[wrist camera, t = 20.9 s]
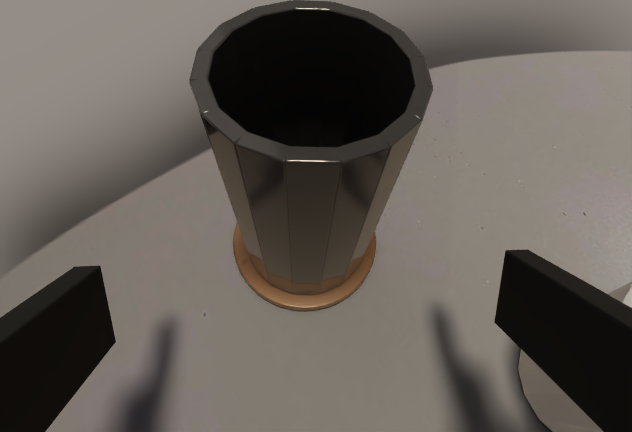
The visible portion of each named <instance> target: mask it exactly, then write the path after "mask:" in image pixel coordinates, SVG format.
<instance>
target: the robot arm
mask: <svg viewBox="0 0 632 432" xmlns="http://www.w3.org/2000/svg"><path fill="white" fill-rule="evenodd" d="M495 323H496V324H497V325H498V326H499V327H500V328H501V329H502V330H503V331H504V332H505V333H506V334H507V335H508V336H509V337H510V338H511V339H512V340H513V341H514V342H515V343H516V344H517V345H518V346H519V347H520V348H521V349H522V350H523V351H524V352H525V353H526V354H527V355H528V356H529V357H530V358H531V359H532V360H533V361H534V362H535V363H536V364H537V365H538V366H539V367H540V368H541V369H542V370H543V371H544V372H545V373H546V374H547V375H548V376H549V377H550V378H551V379H552V380H553V381H554V382H555V383H556V384H557V385H558V386H559V387H560V388H561V389H562V390H563V391H564V392H565V393H566V394H567V395H568V396H569V397H570V398H571V399H572V400H573V402H574V403H575V404H576V405H577V406H578V407H579V408H580V409H581V410H582V411H583V412H584V413H585V414H586V415H587V416H588V417H589V418H590V419H591V420H592V421H593V422H594V423H595V424H596V425H597V426H598V427H599V428H600V429H601V430H602V431H603V432H632V308H631V307H629V306H628V305H626V304H624V303H622V302H620V301H619V300H617V299H615V298H613V297H611V296H610V295H608V294H606V293H604V292H602V291H601V290H599V289H597V288H595V287H593V286H592V285H590V284H588V283H586V282H585V281H583V280H581V279H579V278H577V277H576V276H574V275H572V274H570V273H568V272H567V271H565V270H563V269H561V268H559V267H558V266H556V265H554V264H552V263H551V262H549V261H547V260H545V259H543V258H542V257H540V256H538V255H536V254H534V253H533V252H531V251H529V250H506V252H505V258H504V264H503V271H502V277H501V284H500V290H499V297H498V303H497V310H496V316H495ZM115 342H116V341H115V336H114V331H113V326H112V321H111V316H110V311H109V306H108V301H107V297H106V292H105V287H104V282H103V277H102V272H101V267H100V266H81V267H73V268H72V269H71V270H69V271H68V272H66V273H65V274H63V275H62V276H60V277H59V278H57V279H56V280H55V281H53V282H52V283H50V284H49V285H47V286H46V287H44V288H43V289H41V290H40V291H39V292H37V293H36V294H34V295H33V296H31V297H30V298H28V299H27V300H25V301H24V302H23V303H21V304H20V305H18V306H17V307H15V308H14V309H12V310H11V311H9V312H8V313H7V314H5V315H4V316H2V317H1V318H0V432H45V431H46V430H47V429H48V427H49V426H50V425H51V424H52V422H53V421H54V420H55V418H56V417H57V416H58V415H59V413H60V412H61V411H62V410H63V408H64V407H65V406H66V404H67V403H68V402H69V401H70V399H71V398H72V397H73V396H74V394H75V393H76V392H77V390H78V389H79V388H80V387H81V385H82V384H83V383H84V382H85V380H86V379H87V378H88V376H89V375H90V374H91V373H92V371H93V370H94V369H95V367H96V366H97V365H98V364H99V362H100V361H101V360H102V359H103V357H104V356H105V355H106V353H107V352H108V351H109V350H110V348H111V347H112V346H113V345H114V343H115Z"/></svg>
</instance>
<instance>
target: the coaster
mask: <svg viewBox="0 0 632 432" xmlns="http://www.w3.org/2000/svg"><path fill="white" fill-rule="evenodd" d="M233 248H234V255H235V259H236V263H237V265H238V268H239V270H240V272H241V274H242V276H243V278H244V279H245V281H246V282H247V283H248V285H249V286H250V287H251V288H252V289H253V290H254V291H255V292H256V293H257V294H258V295H259V296H261V297H262V298H264V299H265V300H267V301H269V302H271V303H273V304H275V305H277V306H280V307H283V308H287V309H292V310H300V311H309V310H318V309H323V308H326V307H329V306H332V305H335V304H337V303H339V302H341V301H343V300H344V299H346V298H347V297H349V296H350V295H351V294H352V293H353V292H354V291H356V290H357V289H358V287H359V286H360V285H361V284H362V283H363V281H364V280H365V278H366V276H367V275H368V273H369V271H370V269H371V266H372V264H373V260H374V257H375V250H376V237H375V231H374V233H373V236H372V238H371V240H370V242H369V245H368V247H367V249H366V252H365V254H364V256H363V259H362V261H361V263H360V265H359V266H358V267H357V269H356V270H355V272H354V273H353V274H352V275H351V276H350V277H349V278H348V279H347V280H346V281H345V282H344V283H342V284H341V285H339V286H338V287H336V288H334V289H331V290H329V291H326V292H323V293H318V294H311V295H302V294H294V293H289V292H286V291H283V290H281V289H279V288H277V287H275V286H273V285H271V284H270V283H268V282H267V281H266V280H265V279H264V278H263V277H261V275H260V274H259V273H258V272H257V271H256V269H255V267H254V266H253V265H252V263H251V260H250V258H249V255H248V252H247V249H246V246H245V243H244V240H243V238H242V235H241V232H240V229H239V226H238V223H237V224H236V227H235V232H234V239H233Z"/></svg>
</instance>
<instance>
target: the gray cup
mask: <svg viewBox="0 0 632 432" xmlns="http://www.w3.org/2000/svg"><path fill="white" fill-rule="evenodd" d="M190 86H191V89H192V92H193V95H194V98H195V101H196V104H197V107H198V109H199V112H200V115H201V118H202V121H203V124H204V127H205V130H206V133H207V136H208V138H209V141H210V144H211V147H212V150H213V153H214V156H215V159H216V162H217V165H218V168H219V171H220V173H221V176H222V179H223V182H224V185H225V188H226V191H227V194H228V197H229V200H230V203H231V205H232V208H233V211H234V214H235V217H236V220H237V223H238V226H239V229H240V232H241V235H242V238H243V240H244V243H245V246H246V249H247V252H248V255H249V258H250V260H251V263H252V265H253V266H254V267H255V269H256V271H257V272H258V273H259V274H260V275H261V277H263V278H264V279H265V280H266V281H267V282H268V283H270V284H271V285H273V286H275V287H277V288H279V289H281V290H283V291H286V292H289V293H294V294H302V295H311V294H318V293H323V292H326V291H329V290H331V289H334V288H336V287H338V286H339V285H341V284H342V283H344V282H345V281H346V280H347V279H348V278H349V277H350V276H351V275H352V274H353V273H354V272H355V270H356V269H357V267H358V266H359V265H360V263H361V261H362V259H363V256H364V254H365V252H366V249H367V247H368V245H369V242H370V240H371V238H372V236H373V233H374V231H375V229H376V226H377V224H378V222H379V219H380V217H381V215H382V213H383V210H384V208H385V206H386V203H387V201H388V199H389V196H390V194H391V192H392V189H393V187H394V185H395V183H396V180H397V178H398V176H399V173H400V171H401V169H402V166H403V164H404V162H405V160H406V157H407V155H408V153H409V150H410V148H411V146H412V143H413V141H414V139H415V136H416V134H417V132H418V130H419V127H420V125H421V123H422V120H423V118H424V115H425V112H426V109H427V106H428V103H429V100H430V97H431V94H432V91H433V85H432V81H431V77H430V73H429V69H428V65H427V62H426V58H425V57H424V55H423V53H422V52H421V51H420V50H419V49H418V48H417V46H416V45H415V44H414V43H413V42H412V41H411V40H410V38H409V37H408V36H407V35H406V34H405V33H404V32H403V31H402V30H401V29H399V28H397V27H396V26H394V25H392V24H390V23H389V22H387V21H385V20H383V19H381V18H380V17H378V16H376V15H375V14H373V13H370V12H369V11H365V10H361V9H357V8H354V7H350V6H347V5H343V4H339V3H336V2H331V1H329V2H328V1H304V0H293V1H286V2H280V3H275V4H270V5H265V6H259V7H255V8H252V9H250V10H248V11H246V12H244V13H242V14H240V15H238V16H236V17H234V18H232V19H230V20H228V21H226V22H224V23H222V24H221V25H219V26H218V27H217V29H215V31H214V32H213V33H212V34H211V35H210V36H209V37H208V38H207V39H206V40H205V41H204V42H203V43H202V45H201V46H200V47H199V48H198V50H197V52H196V56H195V60H194V64H193V68H192V72H191V76H190Z"/></svg>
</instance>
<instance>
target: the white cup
mask: <svg viewBox="0 0 632 432" xmlns="http://www.w3.org/2000/svg"><path fill="white" fill-rule="evenodd" d="M608 295H610V296H611V297H613V298H615V299H617V300H619V301H620V302H622V303H624V304H626V305H628V306H629V307H631V308H632V282H631V283H629V284H627V285H625V286H623V287H621V288H619V289H617V290H615V291H613V292H611V293H609V294H608ZM518 371H519V375H520V379H521V383H522V387H523V391H524V395H525V396H526V398H527V400H528V402H529V403H530V405H531V407H532V408H533V410H534V412H535V413H536V415H537V417H538V418H539V420H540V421H541V422H542V423H544V424H545V425H546V426H547V427H548V428H549V429H550V430H551V431H552V432H603V431H602V430H601V429H600V428H599V427H598V426H597V425H596V424H595V423H594V422H593V421H592V420H591V419H590V418H589V417H588V416H587V415H586V414H585V413H584V412H583V411H582V410H581V409H580V408H579V407H578V406H577V405H576V404H575V403H574V402H573V400H572V399H571V398H570V397H569V396H568V395H567V394H566V393H565V392H564V391H563V390H562V389H561V388H560V387H559V386H558V385H557V384H556V383H555V382H554V381H553V380H552V379H551V378H550V377H549V376H548V375H547V374H546V373H545V372H544V371H543V370H542V369H541V368H540V367H539V366H538V365H537V364H536V363H535V362H534V361H533V360H532V359H531V358H530V357H529V356H528V355H527V354H526V353H525V352H524V351H523V350H522V349H521V352H520V359H519V367H518Z"/></svg>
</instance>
